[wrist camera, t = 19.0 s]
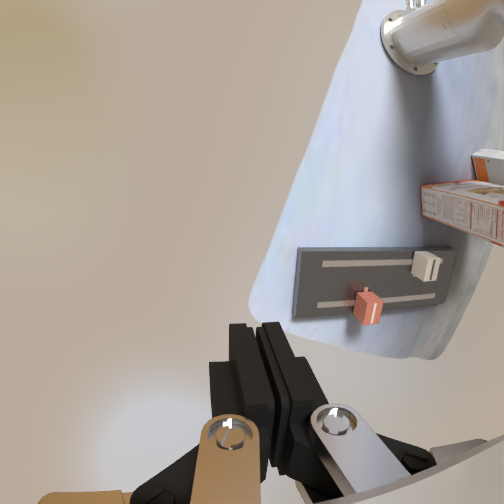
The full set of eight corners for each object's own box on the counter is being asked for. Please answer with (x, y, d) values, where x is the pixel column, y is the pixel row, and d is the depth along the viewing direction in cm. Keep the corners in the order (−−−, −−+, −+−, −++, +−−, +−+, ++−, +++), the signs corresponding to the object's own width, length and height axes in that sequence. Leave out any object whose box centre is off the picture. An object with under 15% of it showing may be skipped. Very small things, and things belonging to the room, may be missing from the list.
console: (297, 247, 50) (302, 251, 48) (450, 247, 55) (457, 250, 53) (291, 311, 53) (295, 317, 51) (438, 299, 58) (445, 303, 56)
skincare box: (470, 154, 50) (515, 160, 38) (482, 148, 50) (526, 153, 38) (476, 183, 52) (520, 193, 40) (488, 176, 52) (531, 185, 40)
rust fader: (356, 292, 51) (367, 303, 47) (372, 291, 52) (383, 301, 48) (352, 313, 53) (363, 325, 49) (368, 312, 53) (378, 323, 49)
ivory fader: (414, 251, 51) (428, 258, 47) (427, 251, 51) (441, 258, 48) (410, 273, 52) (423, 281, 48) (423, 272, 53) (436, 280, 49)
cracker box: (470, 177, 51) (554, 196, 31) (470, 207, 53) (551, 234, 33) (419, 182, 50) (509, 205, 30) (420, 216, 52) (506, 251, 32)
